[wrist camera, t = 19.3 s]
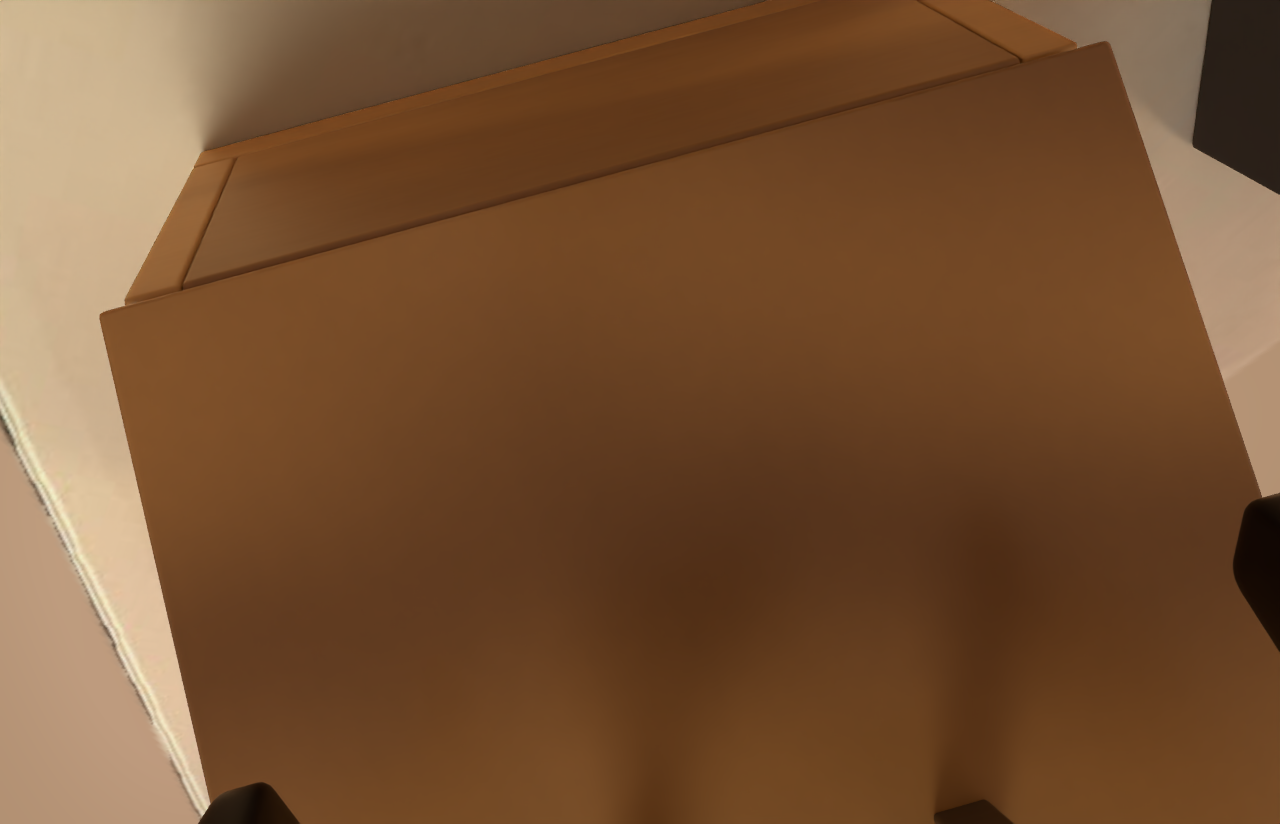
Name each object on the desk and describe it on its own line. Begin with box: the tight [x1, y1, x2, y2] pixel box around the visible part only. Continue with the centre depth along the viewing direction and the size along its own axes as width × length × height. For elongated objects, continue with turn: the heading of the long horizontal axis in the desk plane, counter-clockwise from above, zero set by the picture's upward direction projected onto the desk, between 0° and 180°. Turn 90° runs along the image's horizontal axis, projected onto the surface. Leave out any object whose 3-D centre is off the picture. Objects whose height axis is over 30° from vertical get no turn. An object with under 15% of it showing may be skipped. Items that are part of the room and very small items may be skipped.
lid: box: [100, 41, 1280, 824], centre depth 11 cm, size 11×14×5 cm
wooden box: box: [125, 0, 1077, 306], centre depth 19 cm, size 10×14×6 cm
